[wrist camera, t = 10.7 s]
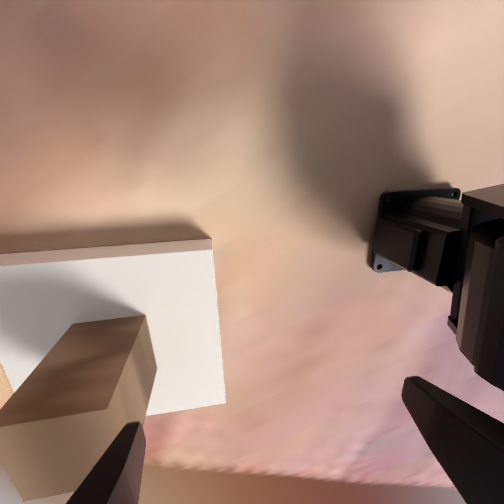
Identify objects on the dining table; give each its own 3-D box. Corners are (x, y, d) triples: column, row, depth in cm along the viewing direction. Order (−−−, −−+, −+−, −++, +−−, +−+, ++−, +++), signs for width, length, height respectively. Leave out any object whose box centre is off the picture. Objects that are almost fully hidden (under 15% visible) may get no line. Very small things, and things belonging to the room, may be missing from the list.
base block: (211, 238, 19) (212, 249, 16) (224, 378, 23) (225, 403, 21) (-6, 254, 17) (-41, 269, 14) (52, 404, 21) (32, 434, 19)
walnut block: (145, 314, 17) (107, 409, 11) (157, 368, 19) (129, 480, 12) (72, 323, 17) (-17, 429, 10) (90, 378, 18) (23, 501, 12)
